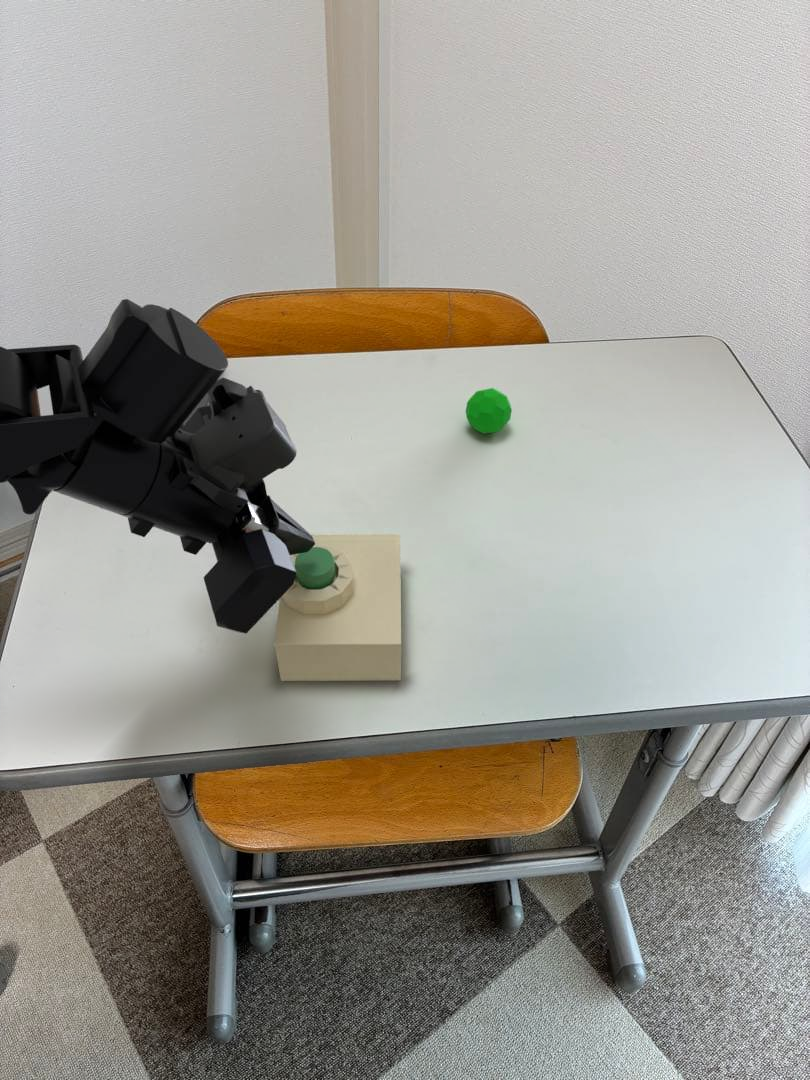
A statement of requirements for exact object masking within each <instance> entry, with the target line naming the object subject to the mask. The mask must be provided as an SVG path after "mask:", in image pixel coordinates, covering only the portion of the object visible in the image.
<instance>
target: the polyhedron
mask: <svg viewBox="0 0 810 1080" xmlns="http://www.w3.org/2000/svg"><path fill="white" fill-rule="evenodd" d="M512 411H513V409H512V406H511V402H510V400H509V398H508V395H506V394H505V393H503V392H502V391H500V390H498V389H496V388H495V387H490V388H485V389H481V390H477V391H475V392H474V394H472V396H471V397H469V399H468V400H467V402H466V407H465V416H466V419H467V422H468V423H469V426H470V427H472V428H473V429H474V430H475V431H478V432H479V433H481V434H483V435H485V434H493V433H497V432H501V430H502V429H503V428H504V427H505V426H506V425H507V424H508V422H510V420H511V417H512Z"/></svg>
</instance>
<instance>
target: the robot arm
mask: <svg viewBox="0 0 810 1080" xmlns="http://www.w3.org/2000/svg"><path fill="white" fill-rule="evenodd" d="M228 367H229V360H228V358H227V356H226V353H225V352H224V351H223V349H222V347H221V346H220V345H219V344H218V343H217V341H216V340H214V338H213V337H212V336H211V335H210V334H209V333H208V332H207V331H205V330H204V329H203V328H202V327H201V326H200V325H198V324H197V323H196V322H195V321H193V320H192V319H191V318H189V317H188V316H186V315H185V314H183V313H181V312H180V311H178V310H176V309H174V308H173V307H169V308H165V307H163V306H160V305H156V304H145V305H143V307H142V306H141V305H139V304H137V303H135V302H134V301H132V300H130V299H129V298H124V299H122V300H121V301H120V302H119V303H118V305H117V306H116V308H114V311H113V312H112V314H111V315H110V318H109V321H108V324H107V326H106V328H105V330H104V331H103V332H102V334H101V335H100V337H98V339H97V341H96V342H95V343H94V345H93V347H92V348H91V349H90V350H89V352H88V353H87V355H86V356H85V358H84V357H83V353H82V348H81V347H80V346H79V345H78V344H61V345H46V346H34V347H21V348H5V347H3V346H0V484H3V483H8V484H9V485H10V486H11V487H12V488H13V490H14V491H15V493H16V495H17V497H18V499H19V503H20V505H21V509H22V513H24V514H25V515H29V516H30V515H34V514H35V513H36V512H37V511H38V509H39V508H40V507H41V506H42V504H43V503H44V502H45V500H46V499H47V498H48V496H49V495H50V494H51V493H52V492H55V493H58V494H61V495H63V496H67V497H69V498H72V499H74V500H78V501H80V502H83V503H86V504H89V505H92V506H94V507H97V508H100V509H102V510H105V511H108V512H110V513H111V512H112V513H113V514H116V515H120V516H122V517H125V518H127V521H128V525H129V530H130V533H131V534H134V535H137V536H140V537H142V538H146V536H147V535H148V533H150V531H151V530H152V529H153V528H156V529H159V530H162V531H164V532H167V533H169V534H173V535H175V536H178V537H179V538H180V542H181V546H182V549H183V552H185V553H189V554H191V555H195V556H196V555H198V554H199V552H200V551H201V550H202V549H203V548H204V546H205V545H206V544H207V543H208V544H211V545H212V548H213V551H214V555H215V558H216V562H215V564H214V565H213V566H212V567H211V568H210V570H209V571H207V573H206V574H205V575H204V576H203V581H204V585H205V589H206V592H207V595H208V599H209V602H210V606H211V610H212V613H213V616H214V619H215V623H216V626H217V628H218V627H219V628H222V629H225V630H229V631H233V632H236V633H241V634H248V632H249V631H250V630H251V629H253V627H254V626H255V625H256V624H257V623H258V622H259V621H260V620H261V619H262V618H263V617H264V616H265V615H266V614H267V613H268V612H269V611H270V610H271V608H272V607H273V606H274V605H275V604H276V603H277V602H278V601H280V598H281V597H282V596H283V595H284V594H285V593H286V591H287V590H288V589H289V588H290V587H291V586H292V585H293V584H294V580H295V576H296V570H295V567H294V565H293V562H292V560H291V557H290V555H294V554H300V553H305V552H308V551H309V550H310V549H311V548H312V547H313V546H314V545H315V541H314V539H313V537H312V535H313V534H311V533H309V532H308V531H307V530H306V529H305V528H304V527H303V526H302V525H300V524H299V523H298V522H297V521H296V520H295V519H294V518H292V516H290V514H289V513H287V512H286V511H285V510H284V509H283V508H282V507H281V506H280V505H278V504H277V503H276V502H275V500H273V499H272V497H271V496H270V494H268V491H267V488H266V483H265V480H264V479H265V478H266V477H268V476H269V475H271V474H273V473H274V472H276V471H278V470H281V469H282V470H283V469H285V468H286V467H288V466H289V465H291V464H292V463H293V461H294V460H296V459H295V458H296V457H297V448H296V445H295V444H294V442H293V441H292V439H291V436H290V434H289V432H288V430H287V426H286V423H285V422H284V421H283V420H282V419H281V417H280V416H279V415H278V414H277V412H276V411H275V410H274V409H273V407H272V406H271V405H270V403H268V401H267V399H266V397H265V395H264V394H265V393H264V392H263V391H262V390H260V389H255V388H254V387H253V386H252V385H249V386H248V387H247V386H245V385H243V384H241V383H239V382H236V381H234V380H231V379H228V378H226V377H221V376H222V375H223V374H224V373H225V371H226V370H227V369H228ZM220 377H221V378H220ZM45 387H48V389H49V395H50V401H51V403H50V404H51V409H52V414H48V415H41V407H40V400H39V392H38V390H39V389H42V388H45ZM207 393H208V404H209V405H207V406H205V407H201V408H198V409H197V410H196V412H195V413H194V414H193V415H192V417H191V418H190V419H189V420H188V422H187V423H186V424H185V425H184V427H183V428H182V429H179V428H180V426H181V425H182V424H183V423H184V421H185V420H186V419H187V418H188V416H189V415H190V414H191V413H192V411H193V410H194V409H195V408H196V406H197V405H198V404H199V403H200V401H201V400H202V399H203V398H204V396H205V395H206V394H207Z"/></svg>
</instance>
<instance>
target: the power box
mask: <svg viewBox="0 0 810 1080" xmlns="http://www.w3.org/2000/svg"><path fill="white" fill-rule="evenodd" d="M311 535H312V537H313V539H314V541H315V545H314V546H313V547H321V548H324V549H327V550H328V551H330V552H331V554H332V555H333V557H334V561H335V578H334V580H333V582H332V583H331V584H330V585H328V586H327V587H325V588H322V589H308V588H305V587H303V586H302V585H301V584H300V583H299V582H298V580H297V576H295V580H294V584H293V585H292V586H291V587H290V588H289V589H288V590H287V591H286V593H285V594H284V595H283V596H282V597H281V598H280V599H279V604H278V611H277V619H276V626H275V627H276V629H275V636H274V650H275V655H276V660H277V661H276V662H277V667H278V670H279V671H278V672H279V677H280V681H281V682H288V681H289V682H319V681H321V682H325V681H326V682H327V681H330V682H331V681H333V682H336V681H338V682H339V681H342V682H344V681H353V682H354V681H357V682H358V681H359V682H360V681H361V682H362V681H363V682H364V681H371V682H372V681H401V679H402V586H401V585H402V582H401V578H402V577H401V535H400V534H311ZM297 555H298V554H294V555H290V557H291V560H292V562H293V565H294V567H295V559H296V557H297ZM295 570H296V569H295Z"/></svg>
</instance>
